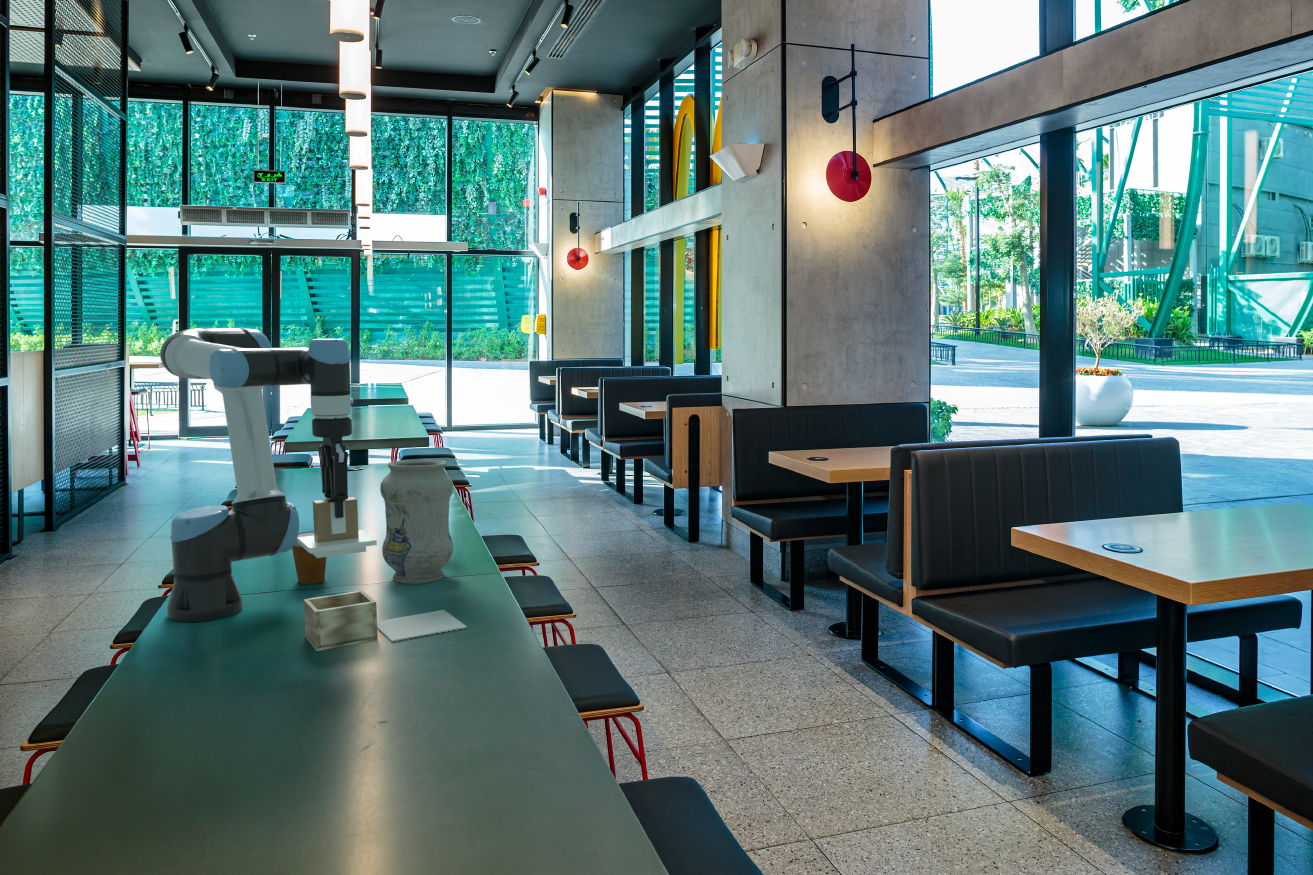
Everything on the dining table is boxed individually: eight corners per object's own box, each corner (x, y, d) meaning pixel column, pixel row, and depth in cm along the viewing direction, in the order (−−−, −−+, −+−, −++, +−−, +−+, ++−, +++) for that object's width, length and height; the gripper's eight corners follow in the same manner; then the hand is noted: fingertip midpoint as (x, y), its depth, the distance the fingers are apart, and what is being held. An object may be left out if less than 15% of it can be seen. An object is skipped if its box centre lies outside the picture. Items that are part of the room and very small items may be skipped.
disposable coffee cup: (318, 586, 227) (315, 539, 225) (283, 584, 229) (281, 537, 227) (338, 576, 236) (336, 531, 235) (305, 574, 238) (303, 529, 236)
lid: (309, 560, 179) (307, 507, 177) (297, 549, 188) (295, 498, 187) (377, 552, 186) (375, 501, 184) (361, 541, 195) (360, 492, 194)
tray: (392, 642, 186) (391, 640, 186) (372, 623, 198) (372, 622, 198) (466, 628, 195) (466, 626, 195) (443, 611, 207) (443, 609, 207)
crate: (316, 651, 181) (315, 611, 180) (305, 637, 190) (303, 599, 189) (377, 639, 188) (376, 601, 187) (364, 626, 196) (362, 590, 195)
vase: (427, 564, 248) (423, 454, 244) (470, 575, 237) (467, 460, 233) (369, 578, 234) (364, 462, 230) (411, 591, 223) (407, 469, 219)
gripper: (361, 418, 179) (366, 536, 182) (340, 412, 192) (344, 522, 195) (322, 420, 175) (326, 541, 178) (303, 413, 188) (307, 526, 191)
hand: (336, 531), depth 186 cm, fingers closed on lid, 3 cm apart
